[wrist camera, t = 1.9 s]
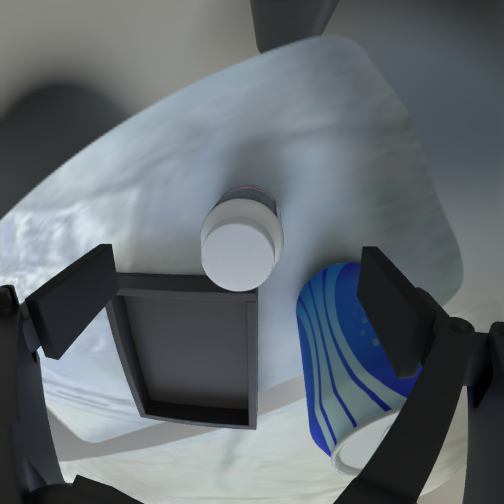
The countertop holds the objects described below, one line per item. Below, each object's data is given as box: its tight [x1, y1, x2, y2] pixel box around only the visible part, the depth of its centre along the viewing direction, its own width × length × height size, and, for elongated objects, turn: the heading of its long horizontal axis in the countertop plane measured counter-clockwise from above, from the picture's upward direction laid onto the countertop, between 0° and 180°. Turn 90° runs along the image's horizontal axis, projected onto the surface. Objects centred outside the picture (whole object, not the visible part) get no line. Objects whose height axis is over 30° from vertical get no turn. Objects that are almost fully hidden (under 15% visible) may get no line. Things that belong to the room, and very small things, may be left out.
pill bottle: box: [200, 185, 284, 291], centre depth 20 cm, size 5×5×9 cm
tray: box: [105, 273, 258, 430], centre depth 28 cm, size 18×14×3 cm
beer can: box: [296, 262, 423, 477], centre depth 19 cm, size 8×8×16 cm
